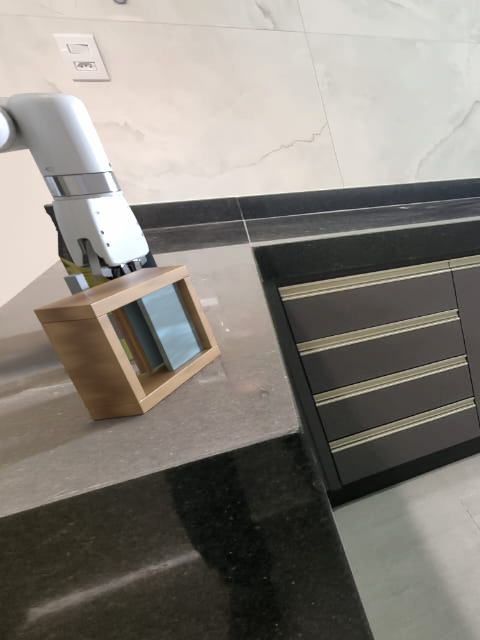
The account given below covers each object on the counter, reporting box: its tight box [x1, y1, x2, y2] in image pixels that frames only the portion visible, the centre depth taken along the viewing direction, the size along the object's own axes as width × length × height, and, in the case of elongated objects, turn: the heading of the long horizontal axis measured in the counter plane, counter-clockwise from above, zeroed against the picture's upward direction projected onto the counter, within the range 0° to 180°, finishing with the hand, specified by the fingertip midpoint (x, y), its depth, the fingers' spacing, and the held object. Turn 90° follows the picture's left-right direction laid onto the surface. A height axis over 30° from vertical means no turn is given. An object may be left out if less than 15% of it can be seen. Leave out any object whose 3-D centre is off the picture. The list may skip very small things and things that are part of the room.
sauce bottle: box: [43, 203, 109, 288], centre depth 90 cm, size 7×6×20 cm
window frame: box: [33, 264, 222, 421], centre depth 65 cm, size 5×18×13 cm, turn 13°
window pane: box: [63, 274, 164, 374], centre depth 66 cm, size 4×8×13 cm, turn 13°
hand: (139, 305), depth 85 cm, fingers closed
